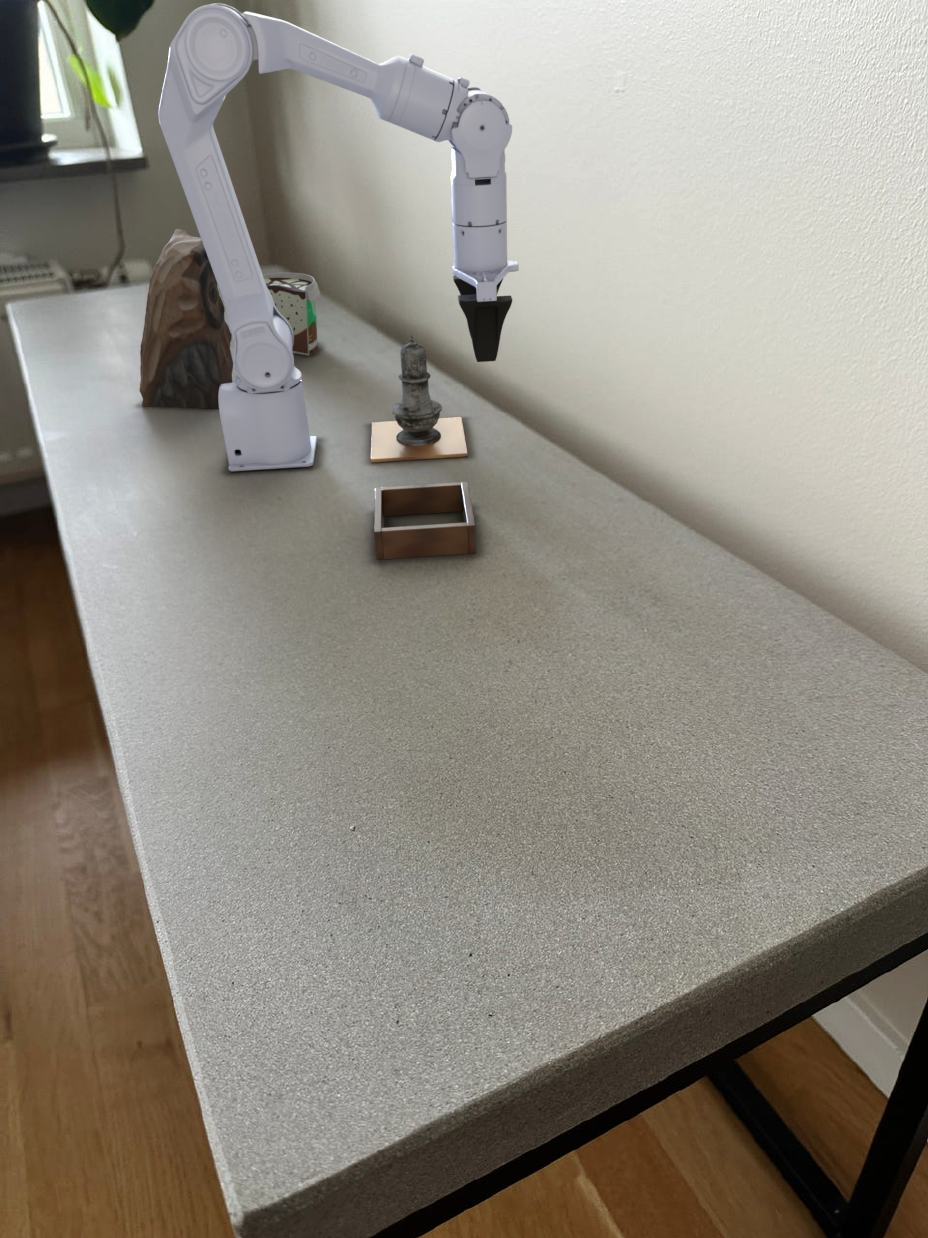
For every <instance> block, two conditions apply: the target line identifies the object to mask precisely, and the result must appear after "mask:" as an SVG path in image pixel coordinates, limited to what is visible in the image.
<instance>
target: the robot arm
mask: <svg viewBox="0 0 928 1238" xmlns="http://www.w3.org/2000/svg"><path fill="white" fill-rule="evenodd" d="M254 61H258V74H259V75H263V74H269V73H274V72H278V71H283V70H293V71H297V72H299V73H302V74H304V75H307V76H310V77H313V78H314V79H317V80H321V81H323V82H326V83H329V84H331V85H334V86H336V87H339V88H342V89H343V90H344V89H345V90H347V91H350V92H352V93H355V94H357V95H360V96H362V97H366V98H368V99H370V101H371V103H372V105H373V108H374V110H375V112H376V114H377V115H376V116H377V117H378V118H379V119H380V120H382V121H385V122H387V123H389V124H393V125H395V126H397V127H400V128H402V129H405V130H407V131H410V132H412V133H414V134H417V135H419V136H421V137H424V138H427V139H429V140H431V141H433V142H436V143H441V142H445V141H448V142H449V144H450V145H451V146H452V147H451V148H450V151H451V152H450V153H451V173H450V194H451V219H452V242H453V243H452V245H453V265H452V274H453V276H452V279H453V282H454V284H455V286H456V287H457V290H458V292H459V295H457V301H458V302H457V303H458V305H459V307H460V309H461V311H462V312H463V315H464V316H465V319H466V323H467V327H468V333H469V336H470V339H471V344H472V349H473V352H474V356H475V360H476V362H477V363H488V362H496V361H497V357H498V354H499V349H500V348H499V347H500V342H501V335H502V330H503V326H504V323H505V320H506V317H507V315H508V313H509V311H510V308H511V307H512V305H513V297H512V295H498V293H499V291H500V287H501V285H502V283H503V280H504V278H505V277H506V276H507V275H508V274H509V273H514V272H519V268H520V267H519V262H518V261H517V260H508V195H507V193H508V191H507V188H508V187H507V184H508V183H507V172H506V151H505V149H507V146H508V145H509V143H510V140H511V137H512V132H513V125H512V124H510V117H509V113H508V111H507V109H506V107H505V106H504V104H503V103H502V102H501V101H500V100H499V99H497V97H494V96H492V95H491V94H489V93H487V92H486V91H483V90H481V88H479V87H478V86H470V84H471V83H470V80H469V79H468V78H465V77H463V76H458V78H457V80H456V79H454V78H452V77H450V76H447V75H445V74H443V73H441V72H439V71H436V70H434V69H431V68H429V67H427V66H425V65H424V62H425V59H424V58H422V57H421V56H418V55H416V54H414V53H410V54H409V57H408V58H407V57H404V56H401V55H398V54H397V55H395V56H393V57H391V58H389V59H388V60H386V61H383V62H381V63H378V62H376V61H374V60H371V59H369V58H367V57H365V56H363V55H360V54H359V53H355V52H354V51H352V50H350V49H347V48H345V47H343V46H340V45H339V44H337V43H334V42H332V41H330V40H329V39H326V38H323V37H322V36H319V35H317V34H315V33H313V32H311V31H308V30H306V29H304V28H302V27H300V26H297V25H296V24H293V23H291V22H289V21H286V20H284V19H279V18H277V17H272V16H268V15H264V14H260V13H256V12H252V11H248V10H247V11H244V12H241V11H239V10H238V9H237V8H235V7H233V6H231V5H228V4H225V3H221V2H217V3H216V2H215V3H210V4H209V3H208V4H205V5H202V6H199V7H197V8H195V9H194V10H192V11H191V12H190V13H189V14H188V15H187V16H186V17H185V19H184V21H183V22H182V25H181V26H180V28H179V29H178V31H177V33H176V34H175V35H174V37H173V38H172V41H171V42H170V45H169V50H168V60H167V66H166V70H165V75H164V81H163V86H162V91H161V96H160V100H159V105H158V112H157V117H158V121H159V122H158V123H159V126H160V129H161V132H162V135H163V137H164V140H165V143H166V146H167V148H168V151H169V154H170V156H171V160H172V162H173V165H174V167H175V170H176V173H177V176H178V179H179V182H180V184H181V187H182V190H183V192H184V195H185V198H186V200H187V201H186V202H187V203H188V206H189V209H190V212H191V214H192V217H193V220H194V223H195V226H196V228H197V232H198V233H199V237H200V238H201V239H202V242H203V245H204V248H205V250H206V253H207V256H208V259H209V261H210V264H211V267H212V270H213V272H214V275H215V278H216V281H217V287H218V290H219V293H220V294H221V298H222V301H223V304H224V308H225V312H226V317H227V322H228V323H227V324H228V326H229V329H230V332H231V334H232V340H233V355H232V360H233V369H234V371H235V373H236V377H235V381H232V383H226V384H221V385H220V387H219V395H218V401H219V408H218V410H219V412H218V413H219V418H220V424H221V431H222V434H223V435H222V436H223V440H224V441H223V442H224V446H225V451H226V457H227V462H228V471H229V472H243V471H244V472H245V471H260V470H276V469H292V468H294V469H295V468H307V467H312V466H313V465H314V463H315V456H316V449H317V444H318V443H317V442H318V437H317V435H310V428H309V427H310V426H309V420H308V413H307V406H306V398H305V397H306V396H305V391H304V385H303V384H304V383H303V375H302V371H300V370H299V369H298V368H297V367H296V366H295V357H294V353H292V347H293V343H294V336H293V331H292V328H291V326H290V324H289V323H288V321H287V320H286V319H285V318H284V317H283V316H282V315H281V314H280V313H279V311H278V310H277V308H276V306H275V304H274V301H273V298H272V295H271V293H270V291H269V290H268V288H267V286H266V284H265V281H264V278H263V271H262V269H261V265H260V263H259V260H258V257H257V254H256V251H255V247H254V245H253V242H252V240H251V236H250V234H249V229H248V228H247V227H248V226H247V223H246V221H245V218H244V215H243V211H242V209H241V206H240V202H239V200H238V197H237V194H236V192H235V187H234V185H233V181H232V179H231V176H230V173H229V171H228V170H229V169H228V166H227V165H226V161H225V158H224V156H223V153H222V149H221V147H220V146H221V145H220V143H219V140H218V138H217V134H216V132H215V128H214V122H215V120H216V119H217V116H218V114H219V112H220V109H221V107H222V106H223V103H224V102H225V99H226V97H227V94H228V93H229V92H231V91H232V90H233V89H234V88H235V87H236V86H237V85H238V84H239V83H240V82H241V81H242V80H243V79H244V77H246V76H247V74H248V72H249V70H250V68H251V66H252V65H253V62H254Z"/></svg>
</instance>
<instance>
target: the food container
mask: <svg viewBox="0 0 928 1238" xmlns="http://www.w3.org/2000/svg"><path fill="white" fill-rule="evenodd" d="M262 275H263V278H264V281H265V284H266V286H267V288H268V290H269V291H270V293H271V295H272V298H273V301H274V304H275V306H276V308H277V310H278V311H279V313H280V314H281V315H282V316H283V317H284V318H285V319H286V320H287V321H288V323H289V324H290V326H291V328H292V331H293V336H294V343H293V347H292V353H293V354H299V355H304V356H309V357H310V356H312V355H313V354H315V353H316V352H317V351H318V325H317V324H318V323H317V322H318V321H317V299H318V298H319V297H320V296H321V291H320V289H319V285H318V283H317V281H316V280H315V278H314V277H313V276H312V275H309V274H306V273H301V272H270V273H264V274H263V273H262Z"/></svg>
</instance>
